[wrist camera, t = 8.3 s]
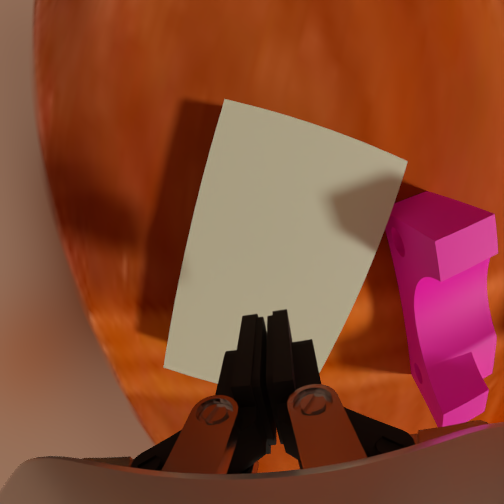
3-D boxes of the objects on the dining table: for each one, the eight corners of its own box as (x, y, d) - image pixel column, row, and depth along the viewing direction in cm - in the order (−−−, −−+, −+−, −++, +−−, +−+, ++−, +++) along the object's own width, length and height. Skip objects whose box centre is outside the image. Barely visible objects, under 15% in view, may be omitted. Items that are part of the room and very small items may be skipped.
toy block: (468, 344, 21) (508, 395, 14) (410, 372, 22) (441, 434, 15) (452, 180, 17) (524, 199, 10) (378, 208, 18) (434, 241, 11)
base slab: (232, 109, 17) (224, 99, 14) (384, 159, 17) (407, 161, 14) (176, 339, 22) (163, 367, 19) (299, 371, 23) (302, 402, 19)
